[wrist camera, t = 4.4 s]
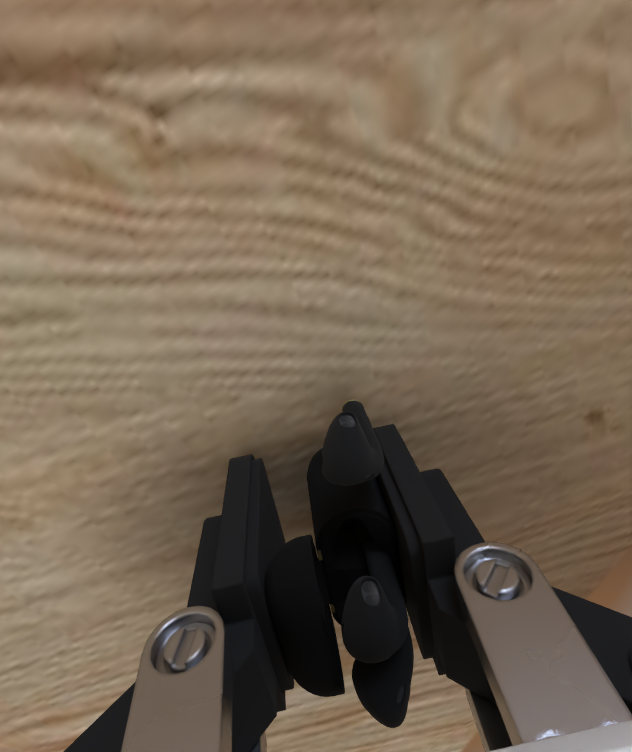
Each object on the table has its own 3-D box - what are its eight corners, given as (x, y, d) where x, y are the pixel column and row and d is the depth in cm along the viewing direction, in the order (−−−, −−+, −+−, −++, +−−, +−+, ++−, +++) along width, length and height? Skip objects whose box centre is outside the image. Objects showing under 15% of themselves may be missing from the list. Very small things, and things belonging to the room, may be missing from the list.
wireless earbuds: (388, 579, 13) (457, 801, 8) (301, 599, 13) (320, 833, 8) (349, 349, 10) (420, 486, 5) (238, 373, 10) (212, 532, 5)
